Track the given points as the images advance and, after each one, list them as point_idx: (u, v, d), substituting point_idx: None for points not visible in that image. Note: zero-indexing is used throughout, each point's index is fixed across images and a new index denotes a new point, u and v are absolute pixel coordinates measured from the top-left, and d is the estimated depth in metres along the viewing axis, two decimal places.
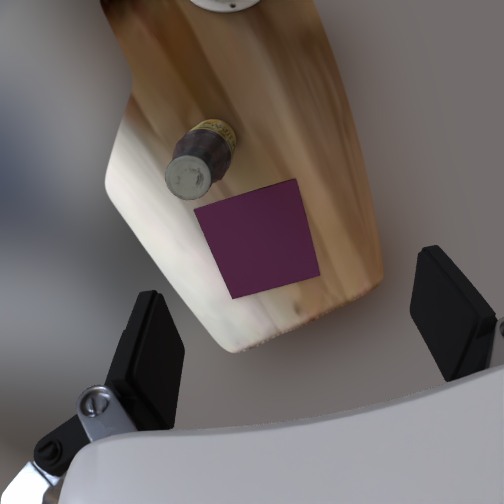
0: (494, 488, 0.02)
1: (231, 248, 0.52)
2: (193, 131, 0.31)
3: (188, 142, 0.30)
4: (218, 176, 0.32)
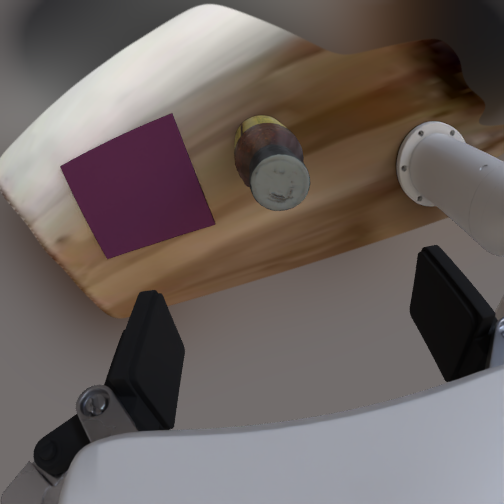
0: (494, 488, 0.02)
1: (124, 160, 0.39)
2: (301, 150, 0.27)
3: (297, 153, 0.25)
4: None
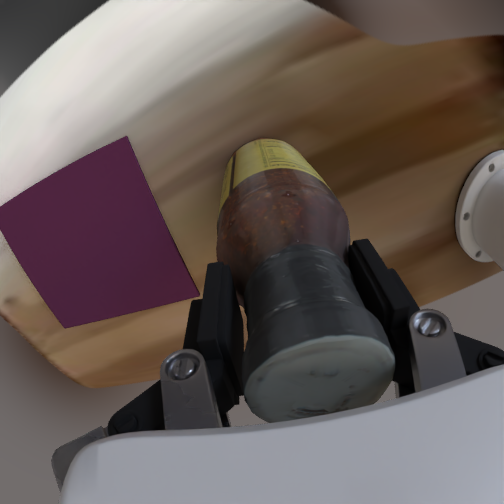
0: (494, 488, 0.02)
1: (66, 206, 0.25)
2: None
3: None
4: None
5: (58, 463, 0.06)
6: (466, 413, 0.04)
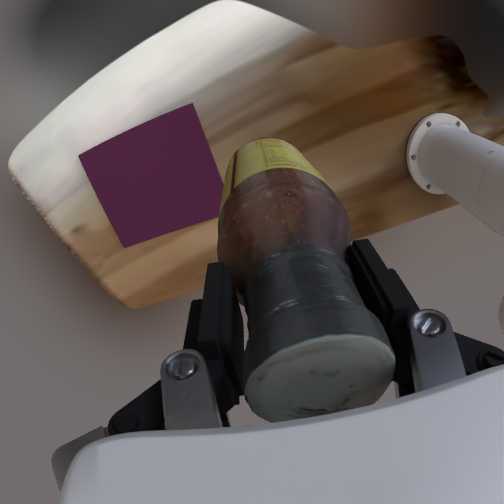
0: (494, 488, 0.02)
1: (144, 148, 0.40)
2: None
3: None
4: None
5: (58, 463, 0.06)
6: (466, 413, 0.04)
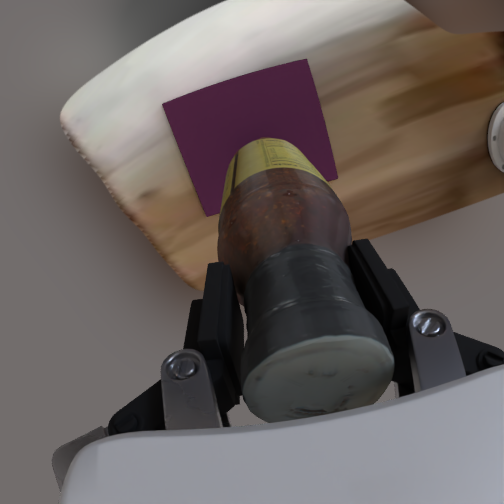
0: (494, 488, 0.02)
1: (248, 101, 0.35)
2: None
3: None
4: None
5: (58, 463, 0.06)
6: (466, 413, 0.04)
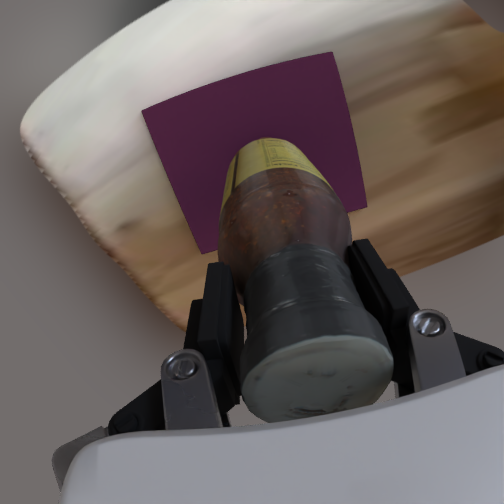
0: (494, 488, 0.02)
1: (255, 106, 0.26)
2: (350, 227, 0.14)
3: None
4: None
5: (58, 463, 0.06)
6: (466, 413, 0.04)
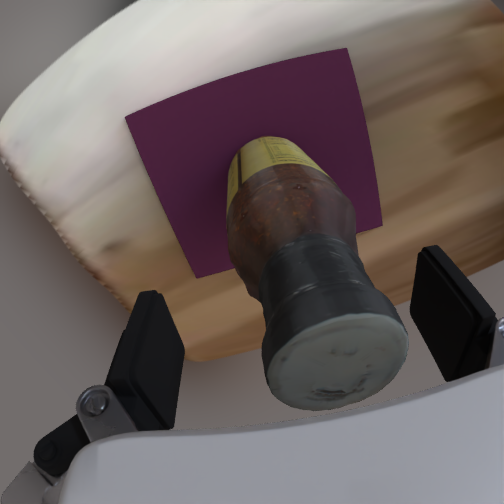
0: (494, 488, 0.02)
1: (257, 111, 0.23)
2: None
3: None
4: None
5: None
6: (466, 413, 0.04)
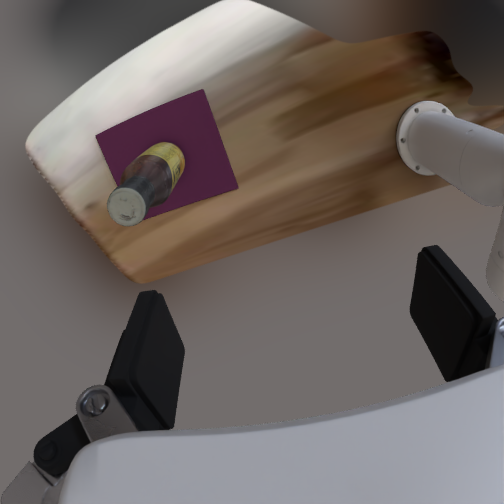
0: (494, 488, 0.02)
1: (158, 129, 0.43)
2: (169, 175, 0.35)
3: (158, 179, 0.33)
4: None
5: None
6: (466, 413, 0.04)
